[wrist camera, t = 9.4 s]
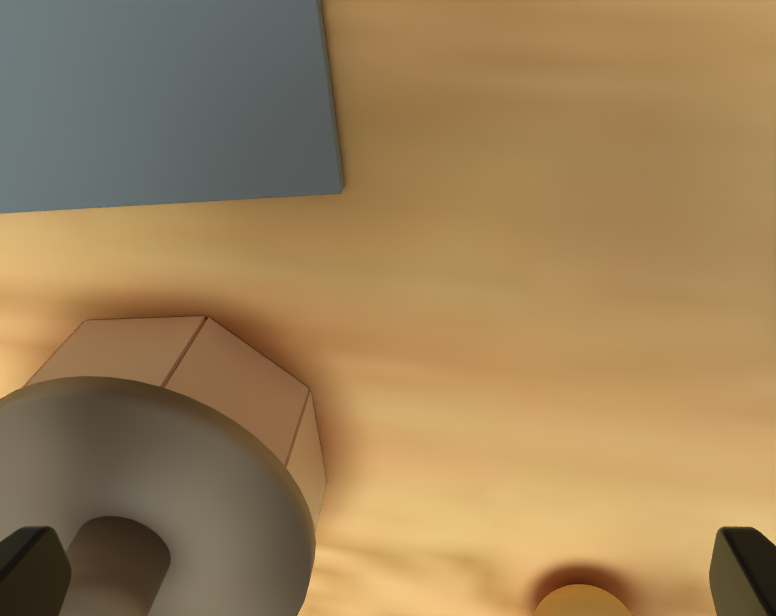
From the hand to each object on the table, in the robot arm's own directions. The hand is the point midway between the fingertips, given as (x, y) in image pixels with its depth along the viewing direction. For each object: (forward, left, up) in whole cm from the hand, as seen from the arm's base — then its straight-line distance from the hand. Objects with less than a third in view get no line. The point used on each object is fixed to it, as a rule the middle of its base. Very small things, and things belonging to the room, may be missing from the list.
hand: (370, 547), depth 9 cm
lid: (+9, +8, -8) cm, 14 cm away
